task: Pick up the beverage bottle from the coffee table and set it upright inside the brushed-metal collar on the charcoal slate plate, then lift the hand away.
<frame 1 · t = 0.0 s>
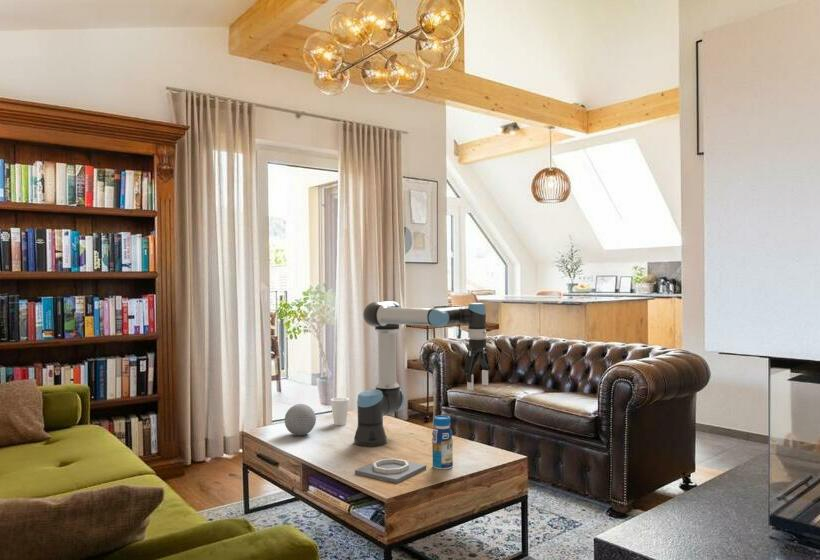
hand: (477, 387, 263), 28 cm above the table, tool pointing down, fingers open, 13 cm apart
foam cup: (340, 424, 316), on the table
decorative ball: (300, 435, 295), on the table
slate plate: (390, 471, 238), on the table
beverage bottle: (442, 467, 243), on the table
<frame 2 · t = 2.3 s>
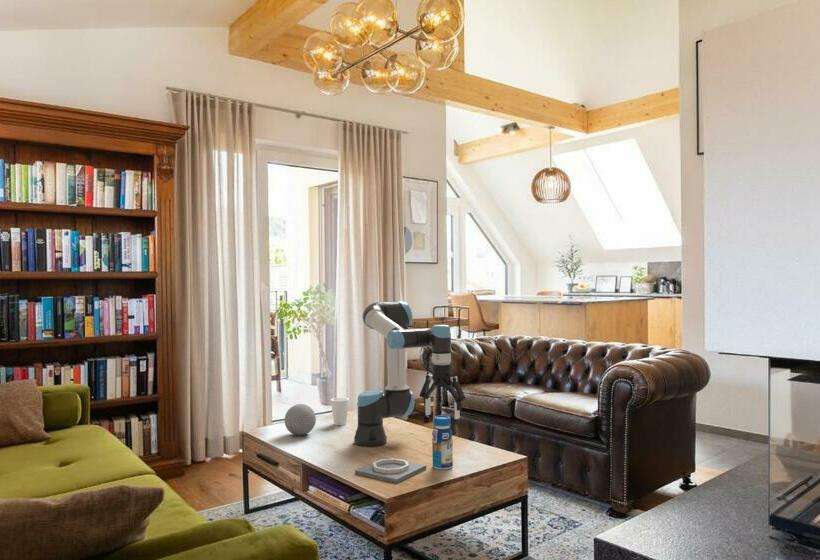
hand: (442, 416, 243), 20 cm above the table, tool pointing down, fingers open, 13 cm apart
nothing on the table moved.
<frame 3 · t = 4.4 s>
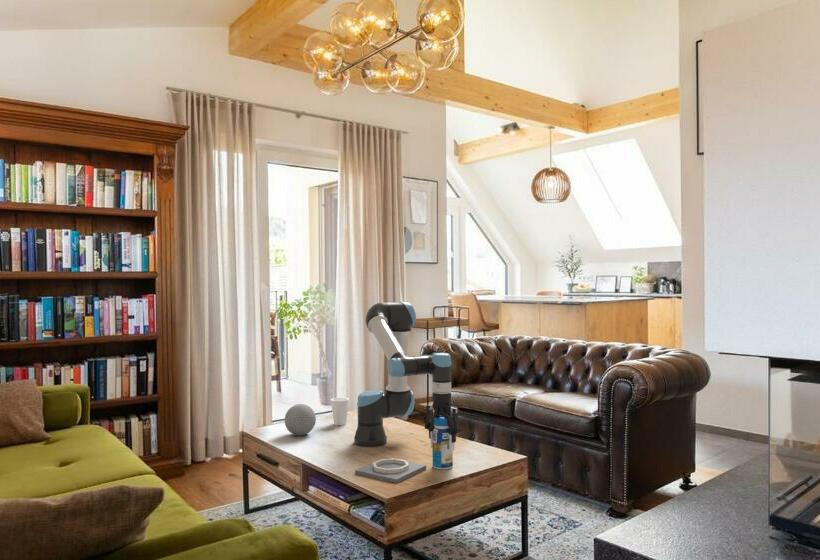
hand: (442, 448, 243), 7 cm above the table, tool pointing down, fingers closed on beverage bottle, 8 cm apart
beverage bottle: (442, 467, 243), on the table, touching gripper
everything else where it was.
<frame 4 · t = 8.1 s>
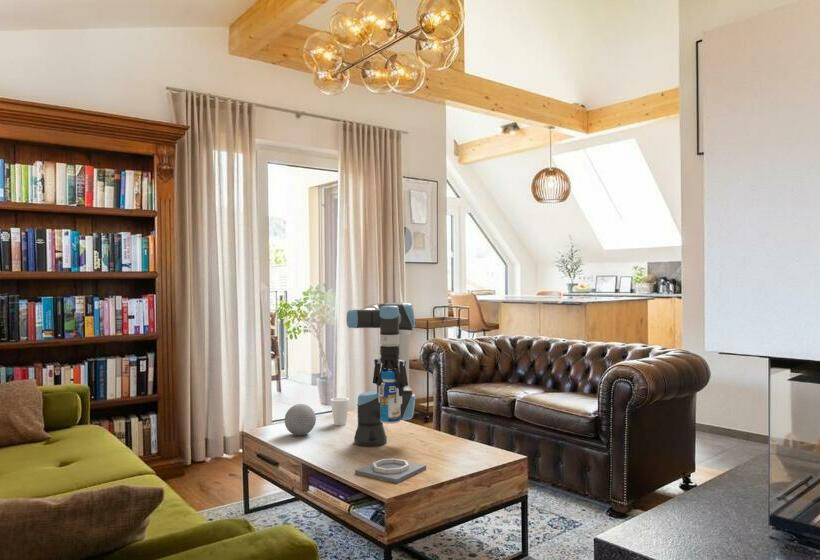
hand: (390, 402, 238), 27 cm above the table, tool pointing down, fingers closed on beverage bottle, 8 cm apart
beverage bottle: (390, 422, 238), point 19 cm above the table, touching gripper
everything else where it was.
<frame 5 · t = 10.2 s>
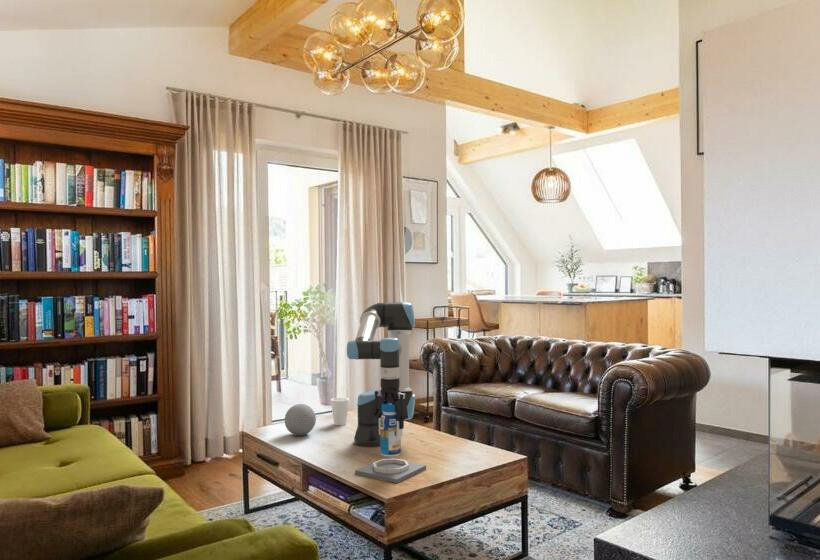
hand: (390, 435, 238), 14 cm above the table, tool pointing down, fingers closed on beverage bottle, 8 cm apart
beverage bottle: (390, 454, 238), point 7 cm above the table, touching gripper
everything else where it was.
when the fingers open (11 cm above the table, at t = 11.8 s): beverage bottle drops 2 cm, resting on slate plate.
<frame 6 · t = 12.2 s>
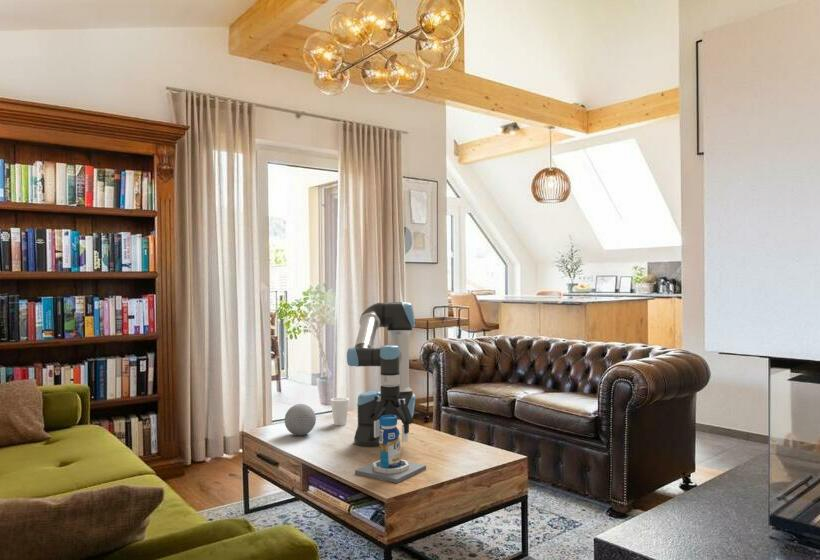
hand: (390, 439, 238), 13 cm above the table, tool pointing down, fingers open, 13 cm apart
beverage bottle: (391, 467, 238), point 2 cm above the table, touching slate plate
everything else where it was.
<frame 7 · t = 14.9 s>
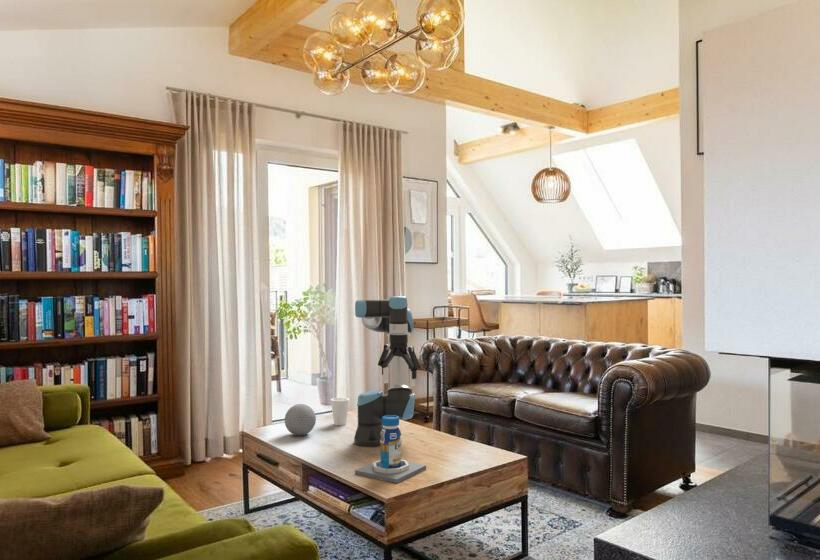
hand: (399, 384, 251), 32 cm above the table, tool pointing down, fingers open, 13 cm apart
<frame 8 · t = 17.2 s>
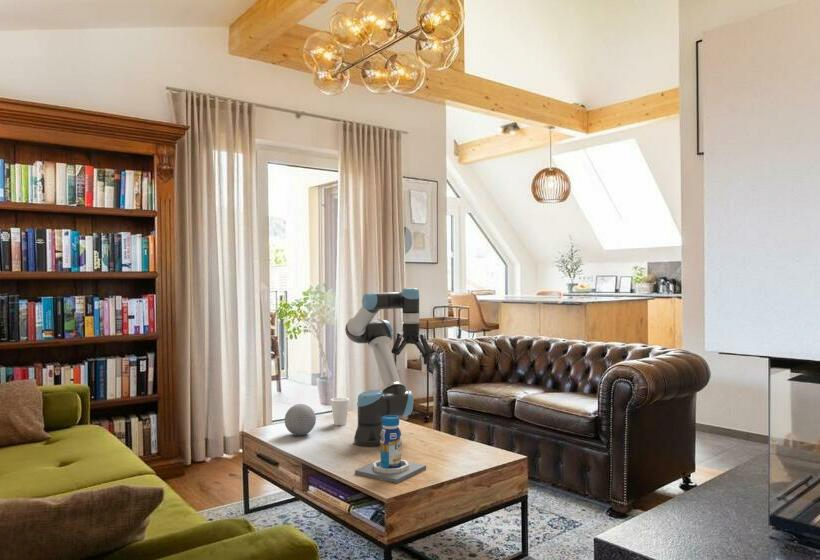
hand: (411, 370, 269), 35 cm above the table, tool pointing down, fingers open, 13 cm apart
nothing on the table moved.
at the end: beverage bottle 0.1 cm off-centre on the slate plate, point 1.3 cm above the slate plate's base; beverage bottle tilted 0°; the gripper is holding nothing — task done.
